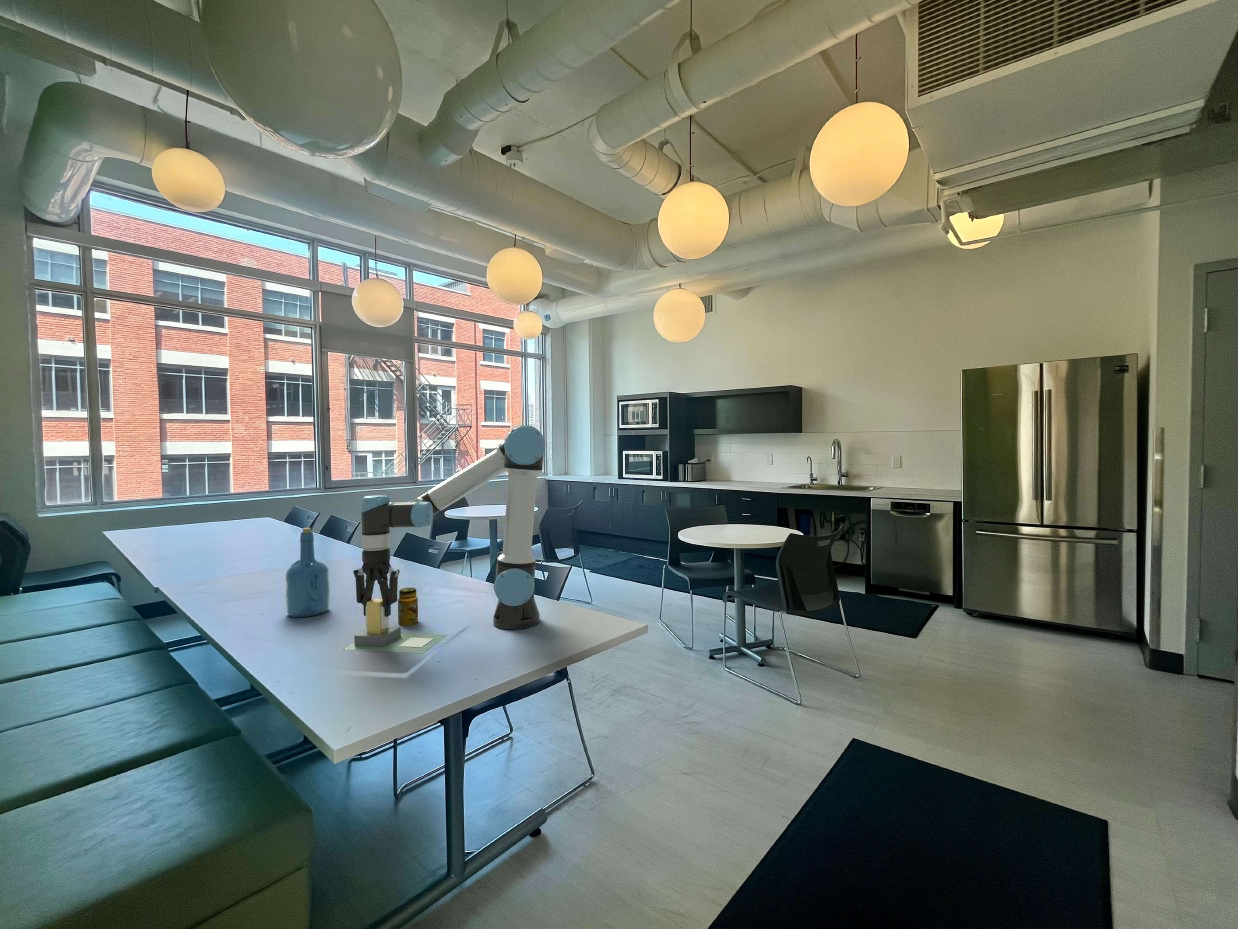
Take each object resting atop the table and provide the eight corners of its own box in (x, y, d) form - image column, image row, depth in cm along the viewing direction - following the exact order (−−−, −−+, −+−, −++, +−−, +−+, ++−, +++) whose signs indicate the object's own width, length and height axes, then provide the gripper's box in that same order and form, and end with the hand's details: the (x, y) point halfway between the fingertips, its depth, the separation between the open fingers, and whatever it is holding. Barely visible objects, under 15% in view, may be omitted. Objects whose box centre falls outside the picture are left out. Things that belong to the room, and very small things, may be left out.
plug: (387, 638, 158) (387, 598, 158) (380, 643, 154) (379, 602, 154) (375, 638, 159) (374, 598, 158) (367, 642, 155) (366, 602, 154)
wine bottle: (337, 610, 190) (335, 527, 189) (298, 621, 178) (296, 532, 178) (316, 604, 197) (315, 524, 196) (278, 614, 186) (276, 529, 185)
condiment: (421, 626, 172) (420, 590, 172) (393, 631, 168) (393, 594, 167) (416, 620, 178) (415, 585, 178) (389, 625, 174) (388, 589, 173)
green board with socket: (447, 638, 161) (447, 625, 161) (422, 657, 146) (422, 642, 146) (374, 634, 165) (374, 621, 165) (343, 653, 150) (342, 638, 150)
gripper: (410, 546, 158) (411, 624, 159) (357, 545, 161) (358, 621, 161) (396, 551, 151) (397, 632, 151) (341, 549, 153) (342, 630, 154)
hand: (377, 626), depth 156 cm, fingers closed on plug, 4 cm apart
